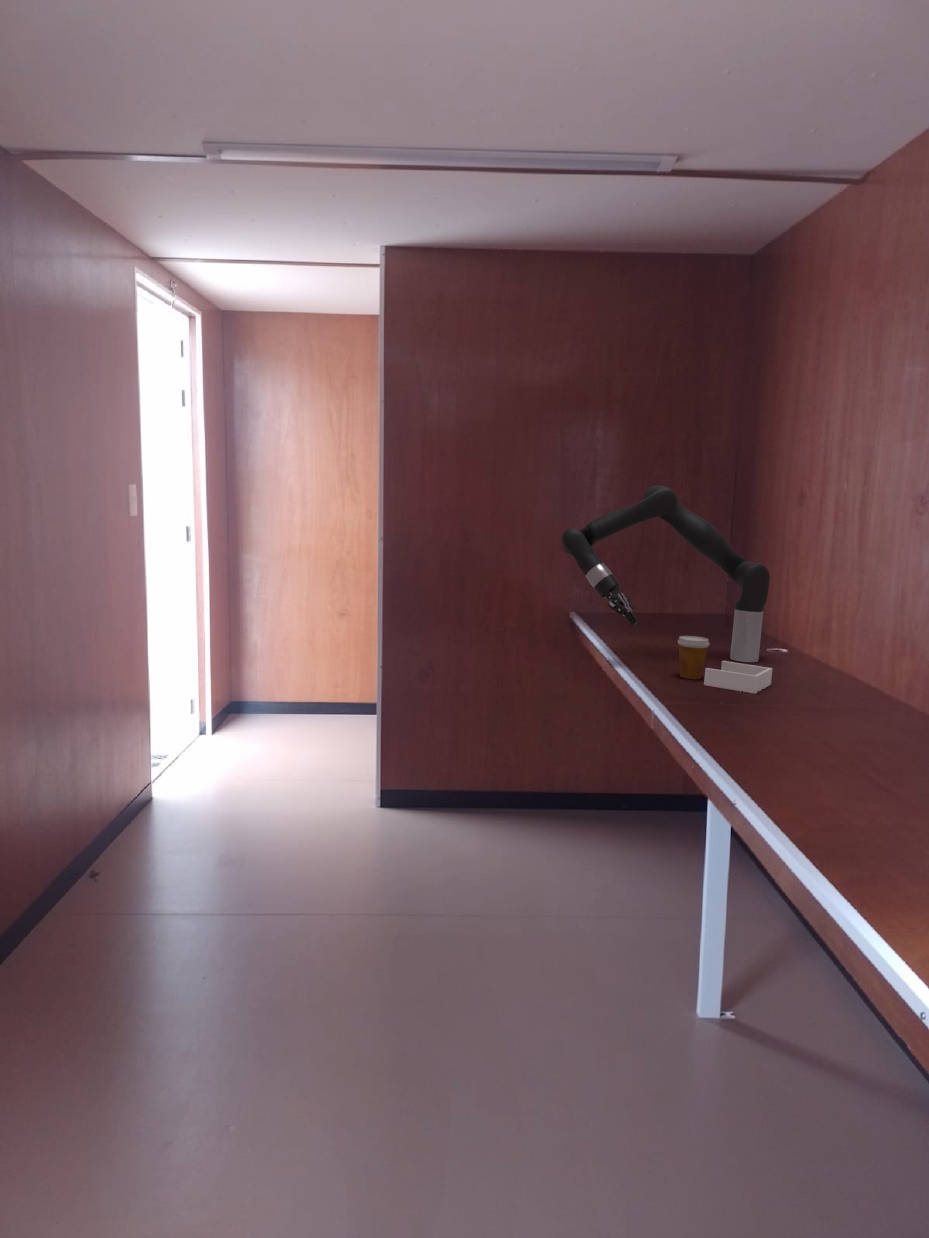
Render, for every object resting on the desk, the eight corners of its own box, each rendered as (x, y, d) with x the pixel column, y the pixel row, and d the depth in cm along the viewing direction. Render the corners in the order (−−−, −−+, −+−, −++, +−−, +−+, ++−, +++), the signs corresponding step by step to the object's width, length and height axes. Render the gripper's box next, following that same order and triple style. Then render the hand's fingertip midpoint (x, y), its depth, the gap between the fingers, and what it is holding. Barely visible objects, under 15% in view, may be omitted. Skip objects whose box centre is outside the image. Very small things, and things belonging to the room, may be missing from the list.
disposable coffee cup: (709, 681, 268) (713, 641, 266) (678, 679, 268) (681, 640, 266) (702, 674, 277) (705, 636, 276) (671, 672, 278) (674, 634, 276)
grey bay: (721, 676, 276) (722, 660, 275) (770, 684, 267) (772, 668, 267) (703, 685, 262) (705, 668, 262) (755, 693, 254) (756, 676, 253)
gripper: (601, 574, 279) (635, 618, 274) (619, 572, 290) (652, 613, 285) (585, 589, 282) (618, 632, 278) (603, 586, 293) (635, 628, 288)
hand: (635, 623), depth 281 cm, fingers closed
